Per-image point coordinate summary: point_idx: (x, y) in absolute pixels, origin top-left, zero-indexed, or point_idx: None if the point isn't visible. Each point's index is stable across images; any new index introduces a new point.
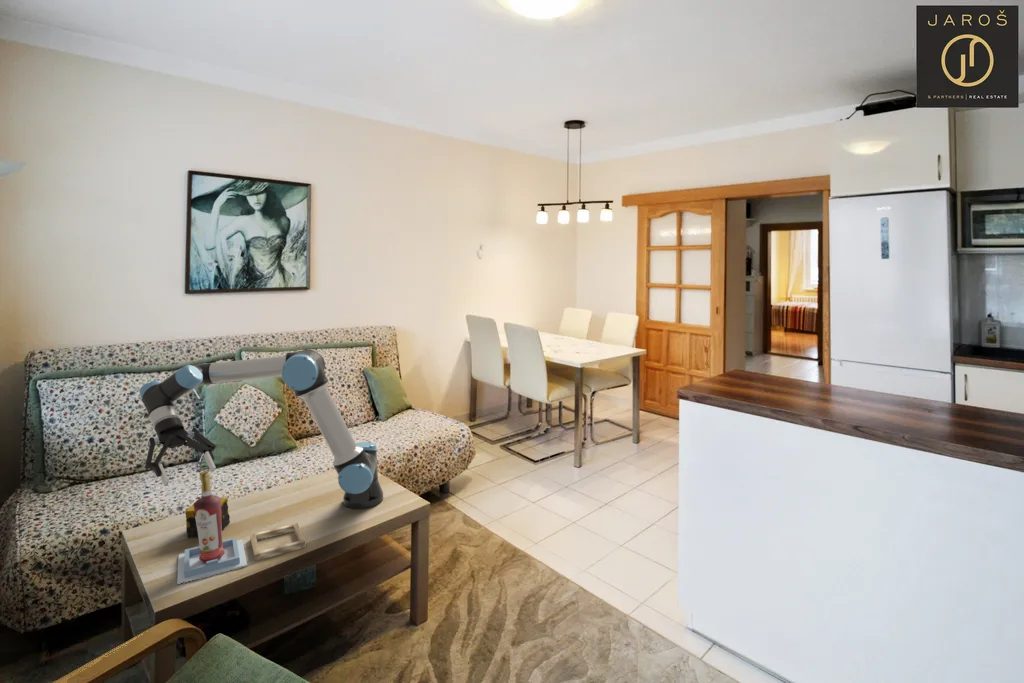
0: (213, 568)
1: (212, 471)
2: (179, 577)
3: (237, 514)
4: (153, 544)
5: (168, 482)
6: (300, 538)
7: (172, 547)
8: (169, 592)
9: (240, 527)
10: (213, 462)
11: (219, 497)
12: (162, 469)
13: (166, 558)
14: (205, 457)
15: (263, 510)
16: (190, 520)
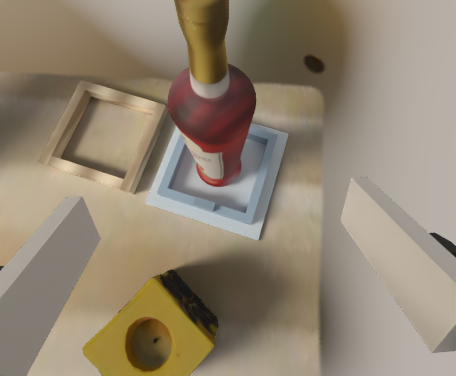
0: None
1: (92, 233)
2: (281, 148)
3: (82, 363)
4: (281, 352)
5: (347, 193)
6: (78, 96)
7: (255, 297)
8: (302, 123)
9: (116, 274)
10: (42, 224)
11: (170, 96)
12: (428, 240)
13: (277, 252)
14: (28, 342)
15: None
16: (207, 326)
